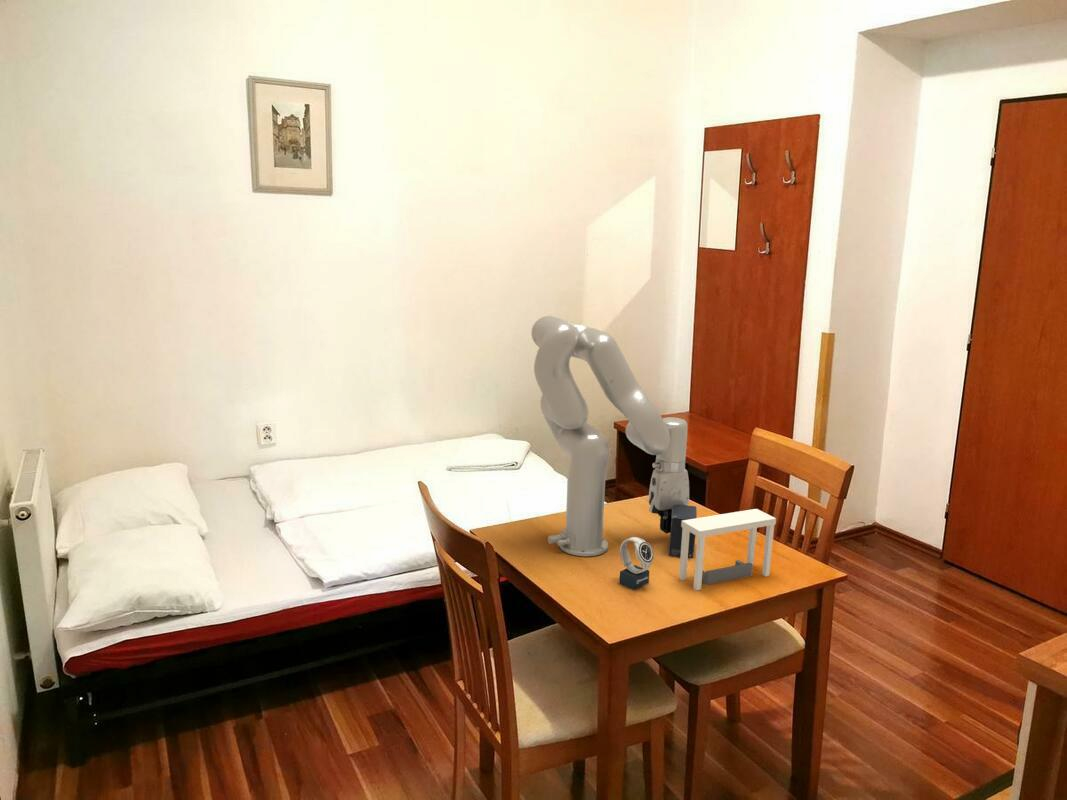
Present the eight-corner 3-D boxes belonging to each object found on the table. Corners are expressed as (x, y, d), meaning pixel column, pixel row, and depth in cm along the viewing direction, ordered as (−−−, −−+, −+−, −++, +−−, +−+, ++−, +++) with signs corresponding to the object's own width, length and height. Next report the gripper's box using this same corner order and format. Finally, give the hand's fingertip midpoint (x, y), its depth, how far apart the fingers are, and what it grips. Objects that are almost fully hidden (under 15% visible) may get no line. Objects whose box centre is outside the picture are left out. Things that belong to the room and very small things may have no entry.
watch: (640, 593, 182) (643, 547, 180) (613, 581, 188) (615, 537, 185) (655, 585, 186) (658, 541, 183) (628, 574, 191) (630, 531, 189)
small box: (694, 559, 201) (697, 519, 199) (667, 556, 202) (670, 517, 200) (694, 543, 211) (697, 505, 209) (669, 540, 213) (672, 502, 210)
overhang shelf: (695, 590, 184) (699, 531, 181) (677, 578, 190) (681, 520, 187) (770, 575, 193) (776, 518, 190) (751, 563, 199) (756, 508, 196)
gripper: (654, 472, 202) (650, 540, 207) (702, 466, 209) (697, 532, 213) (638, 464, 209) (634, 530, 213) (685, 458, 215) (680, 522, 219)
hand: (665, 531), depth 213 cm, fingers closed
